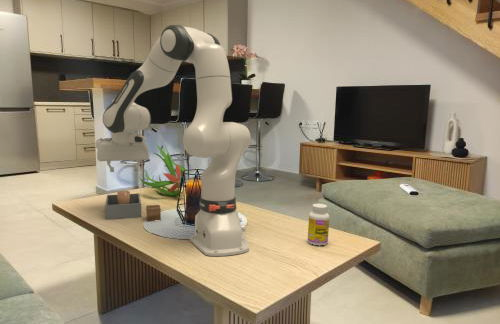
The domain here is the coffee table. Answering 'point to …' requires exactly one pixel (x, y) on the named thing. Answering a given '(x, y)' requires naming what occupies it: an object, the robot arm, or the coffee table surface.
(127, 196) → the terracotta cylinder
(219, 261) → the coffee table surface
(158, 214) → the walnut cube
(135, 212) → the tote
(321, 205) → the supplement bottle
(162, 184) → the decorative plant
